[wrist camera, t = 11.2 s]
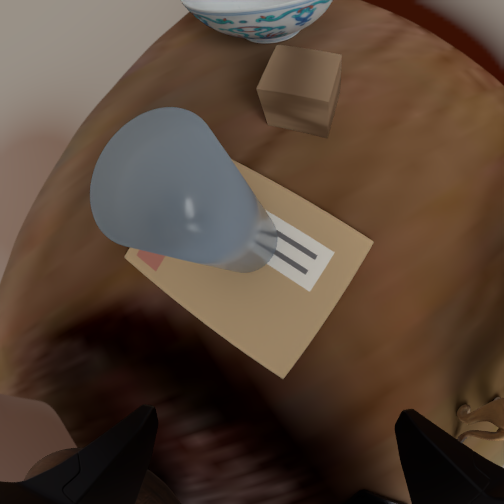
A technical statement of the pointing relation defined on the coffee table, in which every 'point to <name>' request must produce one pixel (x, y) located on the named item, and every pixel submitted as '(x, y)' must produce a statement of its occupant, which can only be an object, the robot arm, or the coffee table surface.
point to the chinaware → (258, 17)
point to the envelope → (269, 279)
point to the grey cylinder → (179, 195)
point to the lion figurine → (484, 419)
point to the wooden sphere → (150, 495)
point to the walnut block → (301, 89)
